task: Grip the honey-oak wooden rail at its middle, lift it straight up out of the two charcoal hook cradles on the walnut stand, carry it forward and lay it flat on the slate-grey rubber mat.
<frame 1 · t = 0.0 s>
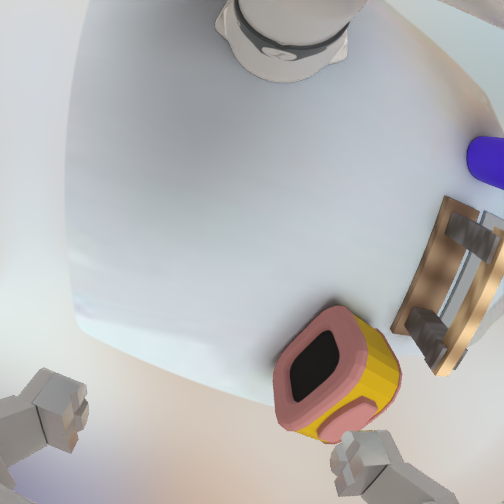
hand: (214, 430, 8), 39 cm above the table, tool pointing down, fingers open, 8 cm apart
rail: (469, 302, 39), point 11 cm above the table, touching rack
alarm clock: (322, 341, 55), on the table
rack: (435, 270, 49), on the table
mat: (471, 280, 50), on the table
bottle: (480, 158, 42), on the table
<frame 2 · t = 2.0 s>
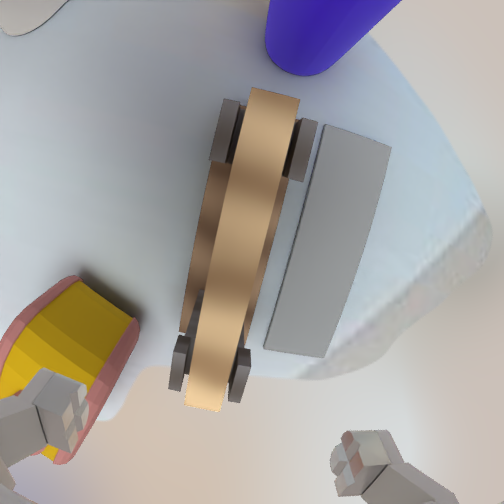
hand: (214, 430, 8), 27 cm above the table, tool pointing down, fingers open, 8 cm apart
rail: (232, 263, 23), point 11 cm above the table, touching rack
alarm clock: (92, 333, 38), on the table
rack: (235, 230, 34), on the table
mat: (326, 251, 35), on the table
bottle: (300, 46, 29), on the table
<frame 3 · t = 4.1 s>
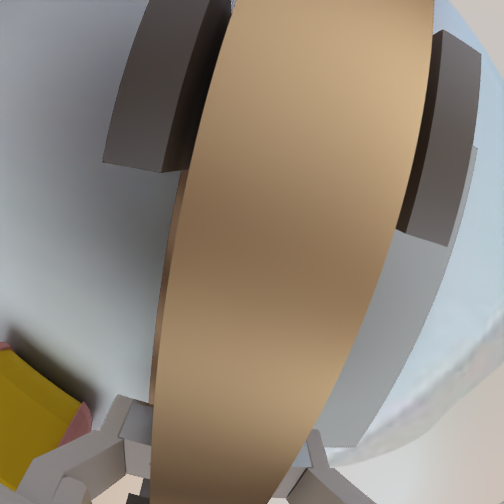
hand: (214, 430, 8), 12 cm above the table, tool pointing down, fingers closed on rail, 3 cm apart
rail: (216, 417, 9), point 11 cm above the table, touching gripper, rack
alarm clock: (40, 405, 23), on the table
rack: (229, 284, 20), on the table
mat: (376, 313, 21), on the table
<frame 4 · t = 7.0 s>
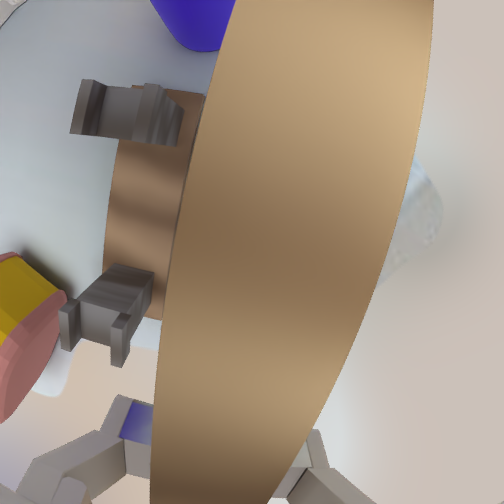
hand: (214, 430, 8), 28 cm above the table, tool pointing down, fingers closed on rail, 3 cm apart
rail: (215, 418, 9), point 27 cm above the table, touching gripper
alarm clock: (35, 308, 38), on the table
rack: (145, 205, 34), on the table
bottle: (207, 24, 28), on the table
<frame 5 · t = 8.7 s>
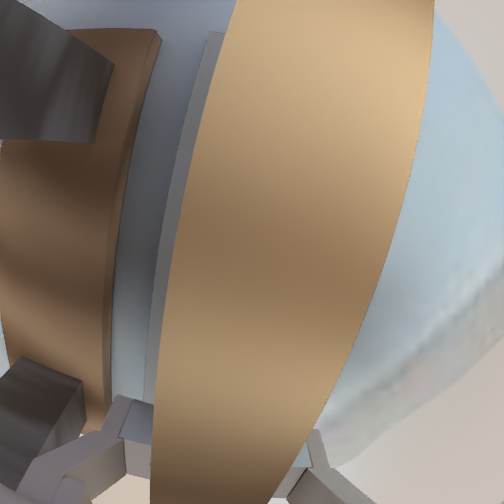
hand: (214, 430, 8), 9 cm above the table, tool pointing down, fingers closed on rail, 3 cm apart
rail: (215, 419, 9), point 8 cm above the table, touching gripper
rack: (55, 261, 16), on the table
mat: (228, 304, 17), on the table
when the fingers open (3 cm above the table, at t = 10.2 s): rail drops 2 cm, resting on mat.
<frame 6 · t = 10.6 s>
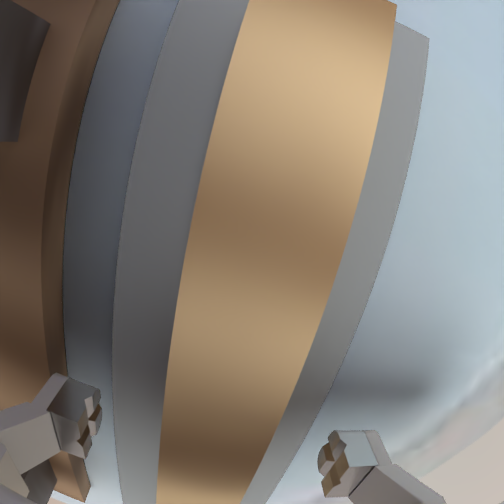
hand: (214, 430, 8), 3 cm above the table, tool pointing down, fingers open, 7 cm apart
rail: (218, 386, 10), point 1 cm above the table, touching mat
mat: (221, 371, 11), on the table
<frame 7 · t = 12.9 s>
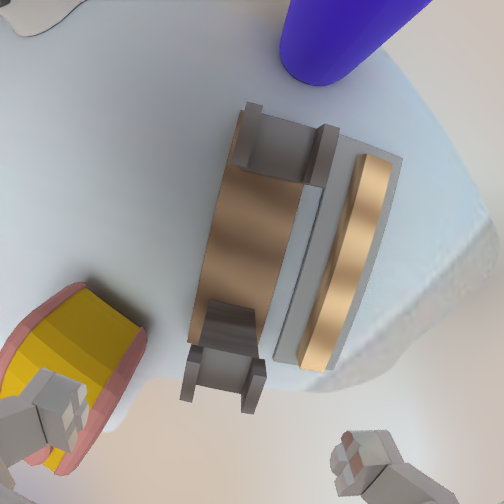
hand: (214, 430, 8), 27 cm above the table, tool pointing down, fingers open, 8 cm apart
rail: (339, 264, 34), point 1 cm above the table, touching mat
alarm clock: (97, 342, 37), on the table
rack: (247, 239, 34), on the table
mat: (338, 262, 35), on the table
bottle: (314, 56, 30), on the table
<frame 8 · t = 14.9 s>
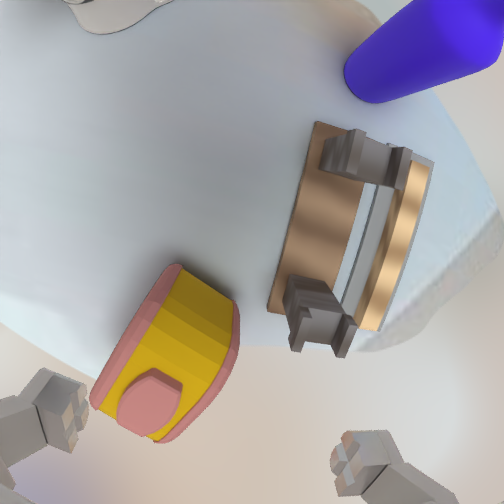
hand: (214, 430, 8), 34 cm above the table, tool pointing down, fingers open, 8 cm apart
rail: (388, 244, 42), point 1 cm above the table, touching mat
alarm clock: (178, 319, 45), on the table
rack: (319, 225, 42), on the table
mat: (386, 242, 43), on the table
bottle: (369, 77, 36), on the table
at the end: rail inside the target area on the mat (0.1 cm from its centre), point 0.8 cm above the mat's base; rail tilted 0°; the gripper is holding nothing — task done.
